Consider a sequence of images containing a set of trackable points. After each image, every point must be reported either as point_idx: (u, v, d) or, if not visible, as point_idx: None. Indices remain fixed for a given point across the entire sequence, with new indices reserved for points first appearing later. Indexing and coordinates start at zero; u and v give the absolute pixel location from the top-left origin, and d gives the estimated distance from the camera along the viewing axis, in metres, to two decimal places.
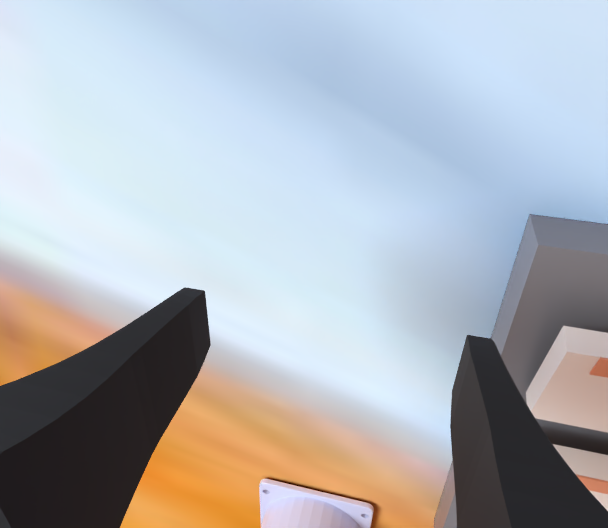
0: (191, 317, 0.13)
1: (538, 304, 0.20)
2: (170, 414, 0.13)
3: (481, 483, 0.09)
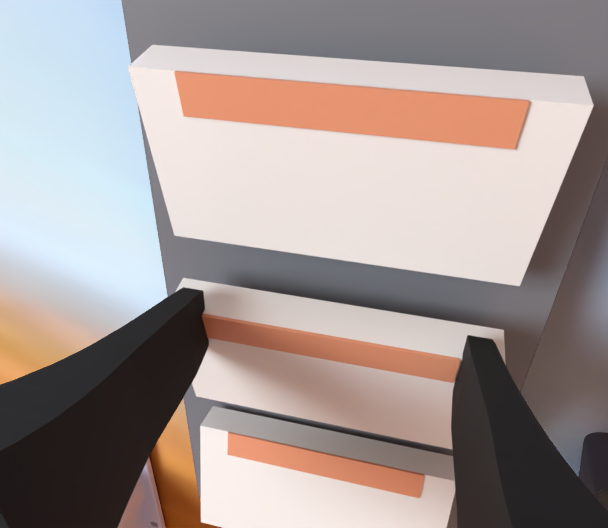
0: (189, 317, 0.13)
1: (153, 39, 0.13)
2: (168, 414, 0.13)
3: (481, 483, 0.09)
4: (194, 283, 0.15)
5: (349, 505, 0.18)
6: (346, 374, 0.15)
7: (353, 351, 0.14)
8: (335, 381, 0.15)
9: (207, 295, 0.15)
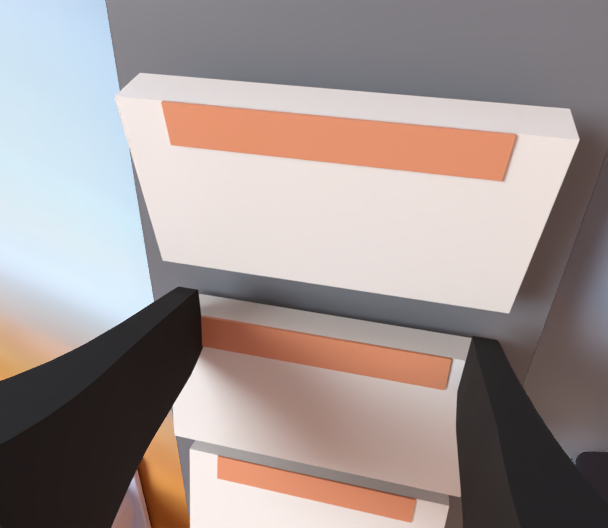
0: (184, 316, 0.13)
1: (141, 65, 0.13)
2: (163, 413, 0.13)
3: (488, 485, 0.09)
4: None
5: None
6: (338, 389, 0.14)
7: (347, 355, 0.14)
8: (326, 399, 0.15)
9: (207, 303, 0.15)
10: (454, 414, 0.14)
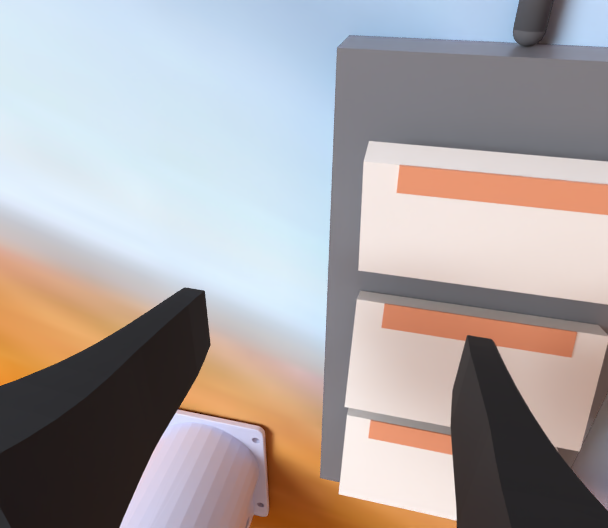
0: (191, 317, 0.13)
1: (354, 130, 0.18)
2: (170, 414, 0.13)
3: (481, 483, 0.09)
4: (370, 292, 0.21)
5: None
6: None
7: (496, 332, 0.19)
8: None
9: (382, 297, 0.20)
10: (577, 378, 0.19)
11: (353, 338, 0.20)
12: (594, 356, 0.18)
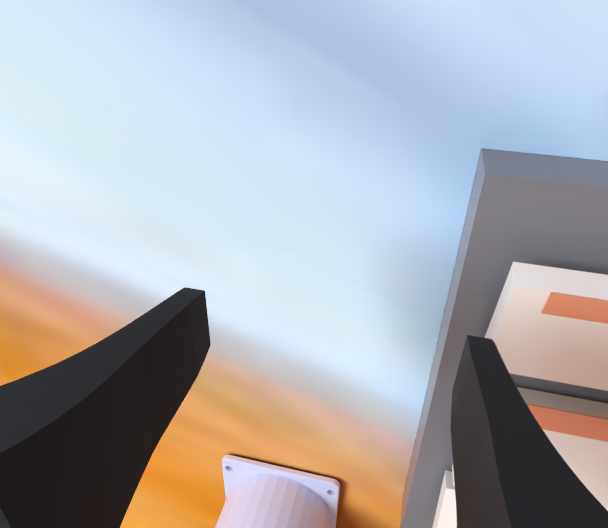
0: (191, 317, 0.13)
1: (489, 243, 0.19)
2: (170, 414, 0.13)
3: (481, 483, 0.09)
4: None
5: None
6: (598, 453, 0.20)
7: None
8: (587, 461, 0.21)
9: None
10: None
11: None
12: None
